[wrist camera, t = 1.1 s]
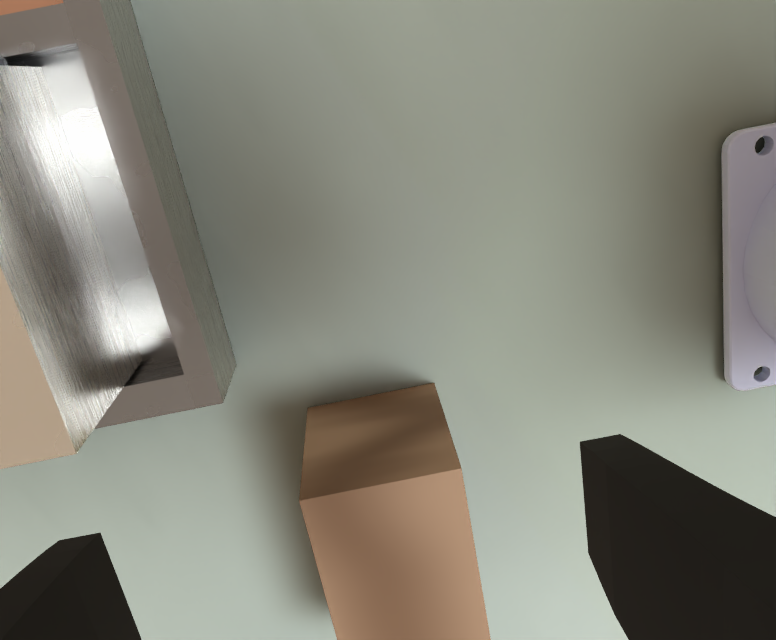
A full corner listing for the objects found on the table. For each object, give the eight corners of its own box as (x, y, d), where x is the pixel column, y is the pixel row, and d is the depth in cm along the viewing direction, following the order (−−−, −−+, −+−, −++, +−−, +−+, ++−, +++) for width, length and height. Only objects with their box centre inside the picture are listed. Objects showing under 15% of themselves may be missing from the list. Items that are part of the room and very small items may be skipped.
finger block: (433, 381, 21) (461, 468, 16) (469, 584, 24) (502, 709, 19) (307, 405, 21) (299, 500, 16) (359, 606, 24) (364, 737, 19)
